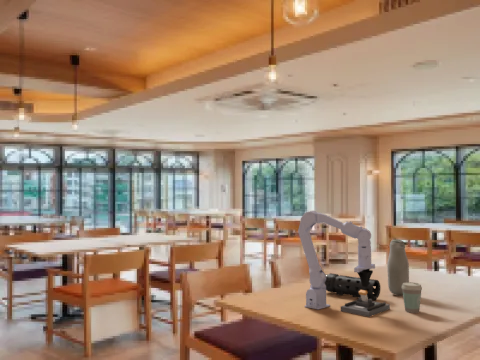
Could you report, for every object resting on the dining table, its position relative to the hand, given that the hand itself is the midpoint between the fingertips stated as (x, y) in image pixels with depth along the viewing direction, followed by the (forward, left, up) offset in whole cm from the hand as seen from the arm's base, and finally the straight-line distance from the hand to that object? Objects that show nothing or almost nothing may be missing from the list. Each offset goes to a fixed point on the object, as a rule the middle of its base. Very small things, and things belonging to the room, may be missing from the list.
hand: (365, 286), depth 205 cm
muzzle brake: (+18, +19, -11) cm, 28 cm away
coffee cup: (+12, -16, -11) cm, 23 cm away
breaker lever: (0, 0, -6) cm, 6 cm away
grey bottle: (+37, +3, -11) cm, 38 cm away
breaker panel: (0, 0, -10) cm, 10 cm away
